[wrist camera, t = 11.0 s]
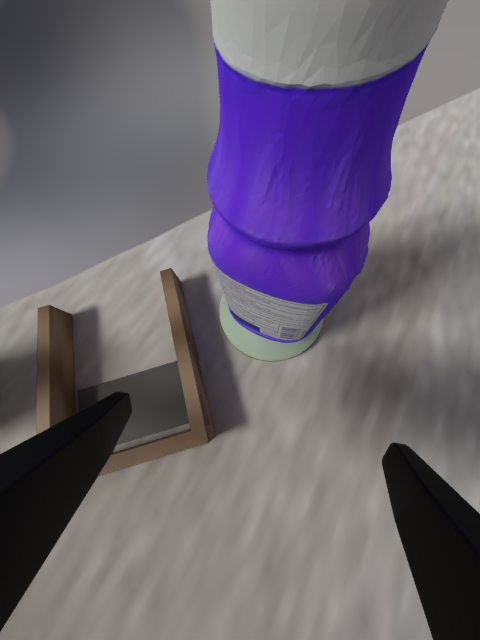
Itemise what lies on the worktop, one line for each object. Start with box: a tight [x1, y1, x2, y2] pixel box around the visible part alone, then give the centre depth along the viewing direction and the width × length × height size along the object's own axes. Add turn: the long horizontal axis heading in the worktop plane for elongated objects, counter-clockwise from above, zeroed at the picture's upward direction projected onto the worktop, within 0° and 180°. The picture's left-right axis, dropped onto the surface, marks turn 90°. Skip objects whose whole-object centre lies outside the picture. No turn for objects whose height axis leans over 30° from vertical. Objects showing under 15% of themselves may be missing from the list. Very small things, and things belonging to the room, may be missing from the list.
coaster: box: [219, 293, 324, 361], centre depth 20 cm, size 9×9×1 cm
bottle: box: [207, 0, 448, 343], centre depth 11 cm, size 7×6×17 cm
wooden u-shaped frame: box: [36, 268, 215, 476], centre depth 19 cm, size 14×12×2 cm
